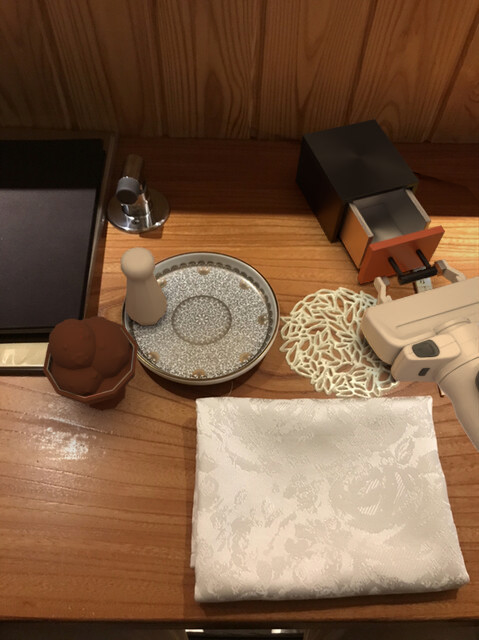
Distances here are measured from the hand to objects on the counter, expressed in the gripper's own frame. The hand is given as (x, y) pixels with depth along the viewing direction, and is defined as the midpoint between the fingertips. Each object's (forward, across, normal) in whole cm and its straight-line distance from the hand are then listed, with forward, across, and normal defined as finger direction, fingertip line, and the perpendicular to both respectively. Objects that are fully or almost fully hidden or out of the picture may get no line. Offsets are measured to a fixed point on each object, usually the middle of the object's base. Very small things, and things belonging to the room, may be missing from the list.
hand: (408, 270), depth 80 cm
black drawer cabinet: (+18, 0, +5) cm, 19 cm away
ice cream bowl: (-3, +45, +5) cm, 45 cm away
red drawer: (+7, 0, +4) cm, 8 cm away
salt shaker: (+7, +37, +5) cm, 38 cm away
